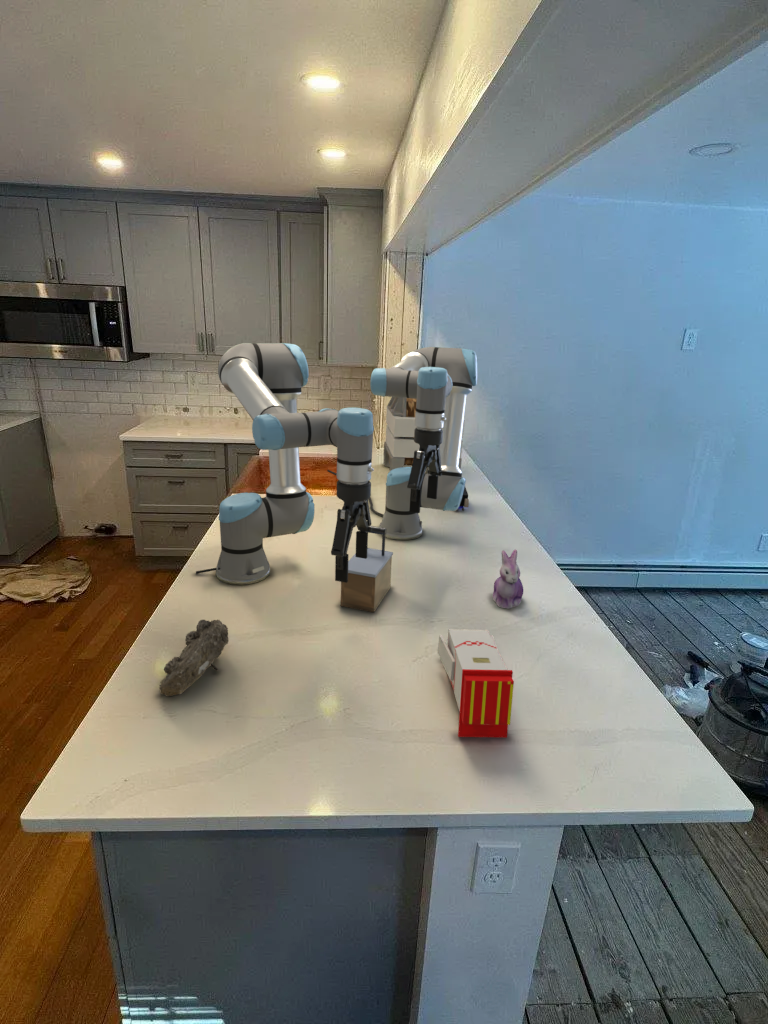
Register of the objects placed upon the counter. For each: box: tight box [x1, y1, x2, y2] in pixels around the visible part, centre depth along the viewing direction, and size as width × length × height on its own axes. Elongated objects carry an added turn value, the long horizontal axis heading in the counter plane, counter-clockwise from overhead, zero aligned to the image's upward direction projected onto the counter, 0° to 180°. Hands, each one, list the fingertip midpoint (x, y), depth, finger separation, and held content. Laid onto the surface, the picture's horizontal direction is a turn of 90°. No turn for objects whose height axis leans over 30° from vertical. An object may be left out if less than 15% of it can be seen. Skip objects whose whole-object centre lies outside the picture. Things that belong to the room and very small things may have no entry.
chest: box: [340, 555, 393, 613], centre depth 154 cm, size 15×9×10 cm, turn 163°
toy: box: [437, 628, 515, 738], centre depth 117 cm, size 12×13×30 cm
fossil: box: [159, 619, 229, 697], centre depth 120 cm, size 22×10×15 cm
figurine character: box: [455, 486, 470, 512], centre depth 229 cm, size 7×8×15 cm
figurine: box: [492, 548, 524, 609], centre depth 154 cm, size 9×10×15 cm
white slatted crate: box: [383, 397, 465, 472], centre depth 268 cm, size 34×33×41 cm
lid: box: [348, 525, 394, 577], centre depth 151 cm, size 16×9×9 cm, turn 163°
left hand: (351, 568), depth 131 cm, fingers open, 13 cm apart
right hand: (423, 505), depth 155 cm, fingers open, 13 cm apart
